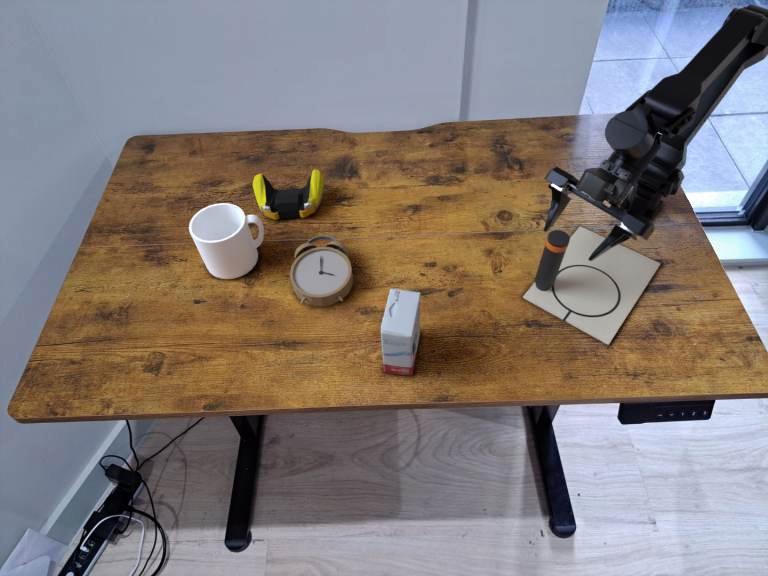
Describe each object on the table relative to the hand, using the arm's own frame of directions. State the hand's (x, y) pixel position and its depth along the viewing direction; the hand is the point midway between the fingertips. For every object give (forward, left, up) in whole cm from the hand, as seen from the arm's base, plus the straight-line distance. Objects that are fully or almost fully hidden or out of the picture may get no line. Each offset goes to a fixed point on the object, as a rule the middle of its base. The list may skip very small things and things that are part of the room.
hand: (566, 245), depth 87 cm
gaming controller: (+16, -53, -8) cm, 56 cm away
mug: (+33, -50, -8) cm, 61 cm away
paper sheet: (-3, +6, -8) cm, 10 cm away
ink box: (+30, -12, -8) cm, 34 cm away
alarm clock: (+26, -34, -8) cm, 44 cm away
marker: (+4, -1, -8) cm, 9 cm away
